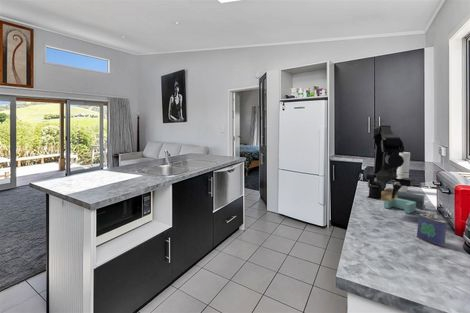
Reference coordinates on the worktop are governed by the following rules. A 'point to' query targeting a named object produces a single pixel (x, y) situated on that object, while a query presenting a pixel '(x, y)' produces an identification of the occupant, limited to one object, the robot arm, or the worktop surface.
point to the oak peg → (387, 194)
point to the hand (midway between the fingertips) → (387, 197)
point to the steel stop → (412, 198)
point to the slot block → (401, 204)
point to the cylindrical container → (404, 169)
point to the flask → (431, 229)
